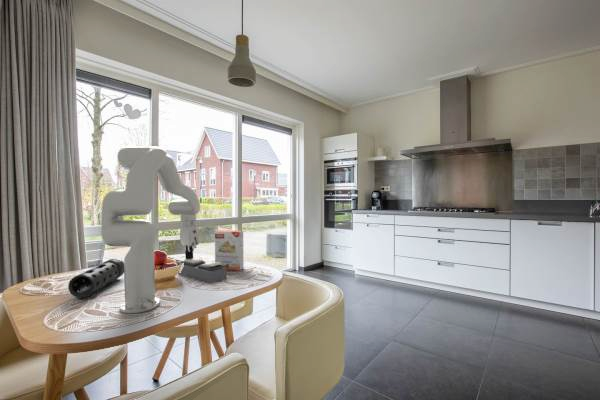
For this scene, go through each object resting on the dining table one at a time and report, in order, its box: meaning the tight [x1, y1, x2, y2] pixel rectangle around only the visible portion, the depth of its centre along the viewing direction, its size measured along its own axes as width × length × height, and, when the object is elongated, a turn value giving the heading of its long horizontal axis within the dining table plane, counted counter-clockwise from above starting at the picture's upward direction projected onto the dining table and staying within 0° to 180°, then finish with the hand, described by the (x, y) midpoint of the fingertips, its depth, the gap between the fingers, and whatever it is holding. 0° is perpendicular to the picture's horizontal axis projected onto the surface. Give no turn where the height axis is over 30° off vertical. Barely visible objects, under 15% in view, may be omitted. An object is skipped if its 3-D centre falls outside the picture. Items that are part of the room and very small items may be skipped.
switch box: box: [179, 260, 227, 284], centre depth 140 cm, size 26×9×6 cm, turn 55°
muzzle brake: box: [68, 258, 124, 300], centre depth 122 cm, size 10×28×10 cm, turn 9°
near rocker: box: [201, 261, 220, 268], centre depth 136 cm, size 8×5×2 cm, turn 55°
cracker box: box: [214, 229, 244, 272], centre depth 151 cm, size 14×6×21 cm, turn 81°
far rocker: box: [183, 257, 203, 264], centre depth 144 cm, size 8×5×2 cm, turn 55°
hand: (189, 258), depth 146 cm, fingers closed
